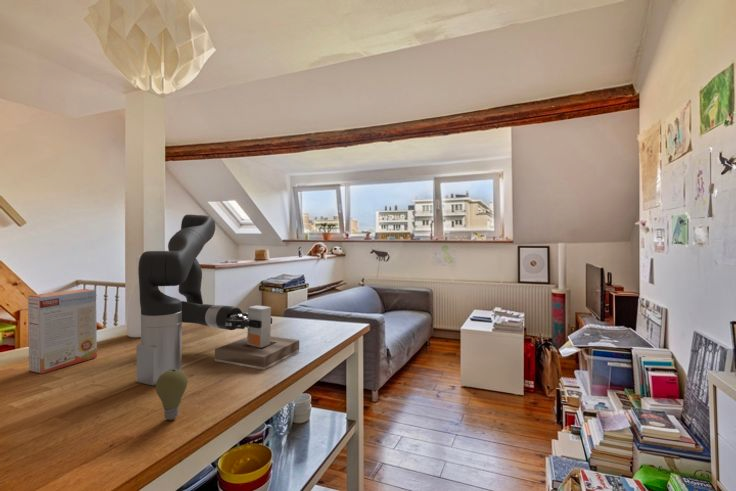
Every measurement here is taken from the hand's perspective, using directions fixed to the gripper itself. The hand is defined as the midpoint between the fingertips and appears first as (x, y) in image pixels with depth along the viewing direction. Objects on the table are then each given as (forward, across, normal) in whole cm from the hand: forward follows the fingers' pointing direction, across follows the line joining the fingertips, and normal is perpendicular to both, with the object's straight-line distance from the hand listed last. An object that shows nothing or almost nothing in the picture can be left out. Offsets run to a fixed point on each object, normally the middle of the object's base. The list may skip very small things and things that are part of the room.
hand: (266, 322), depth 107 cm
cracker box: (-48, -28, +11) cm, 57 cm away
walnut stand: (-2, 0, +11) cm, 11 cm away
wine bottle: (-58, +2, +12) cm, 60 cm away
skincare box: (-3, 0, +8) cm, 8 cm away
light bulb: (+7, -38, +11) cm, 40 cm away
